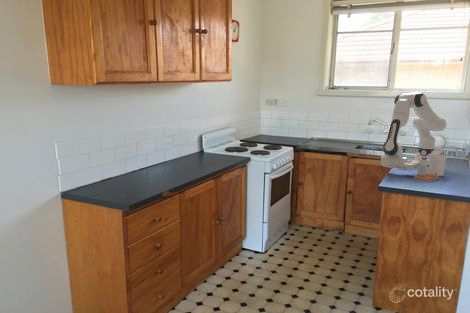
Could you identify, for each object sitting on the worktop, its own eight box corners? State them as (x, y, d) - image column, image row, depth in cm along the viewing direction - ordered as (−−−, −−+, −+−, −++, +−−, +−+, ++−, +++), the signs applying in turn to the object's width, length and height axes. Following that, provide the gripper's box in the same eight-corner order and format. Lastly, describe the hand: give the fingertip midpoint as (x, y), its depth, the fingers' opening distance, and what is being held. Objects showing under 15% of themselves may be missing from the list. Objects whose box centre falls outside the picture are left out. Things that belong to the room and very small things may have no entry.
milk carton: (435, 176, 269) (438, 149, 266) (427, 174, 276) (430, 148, 272) (443, 176, 271) (446, 149, 267) (435, 173, 278) (439, 147, 274)
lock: (420, 173, 267) (421, 156, 264) (428, 175, 263) (431, 158, 261) (417, 175, 263) (419, 157, 261) (426, 176, 259) (428, 159, 257)
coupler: (419, 175, 272) (420, 169, 271) (438, 178, 264) (438, 172, 263) (413, 178, 262) (413, 172, 261) (432, 181, 254) (433, 175, 253)
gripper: (399, 161, 262) (420, 164, 253) (409, 157, 277) (430, 160, 268) (398, 170, 263) (419, 173, 254) (408, 165, 278) (429, 169, 269)
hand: (425, 166), depth 261 cm, fingers closed on lock, 5 cm apart
